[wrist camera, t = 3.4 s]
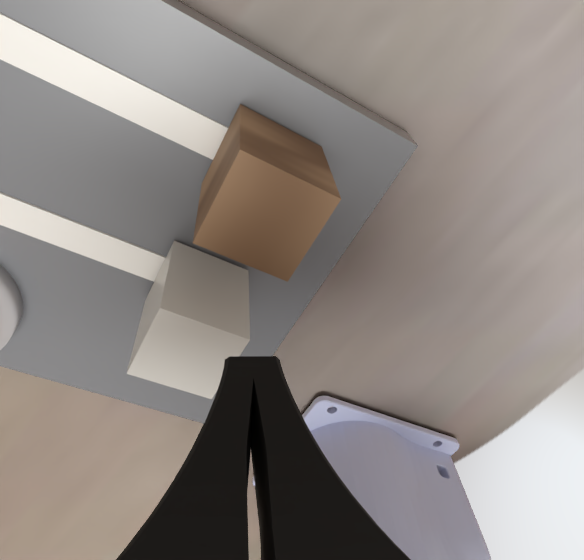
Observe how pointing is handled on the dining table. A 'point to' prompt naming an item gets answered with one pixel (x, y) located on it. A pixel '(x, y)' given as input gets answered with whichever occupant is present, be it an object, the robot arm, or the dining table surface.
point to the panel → (146, 178)
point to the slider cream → (192, 322)
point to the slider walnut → (264, 196)
